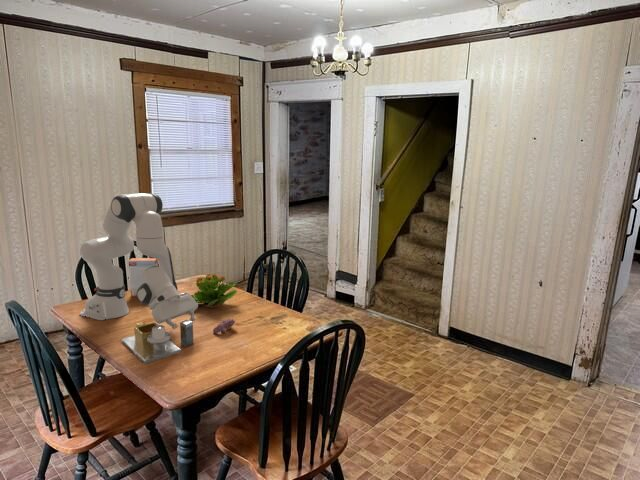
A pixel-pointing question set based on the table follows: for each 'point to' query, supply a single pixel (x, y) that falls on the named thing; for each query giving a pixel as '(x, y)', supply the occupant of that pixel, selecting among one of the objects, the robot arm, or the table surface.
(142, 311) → the table surface
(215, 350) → the table surface
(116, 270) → the robot arm
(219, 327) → the video game controller
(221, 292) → the potted flower
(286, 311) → the table surface
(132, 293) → the cracker box
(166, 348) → the silver and gold device
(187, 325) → the tall grey square post
